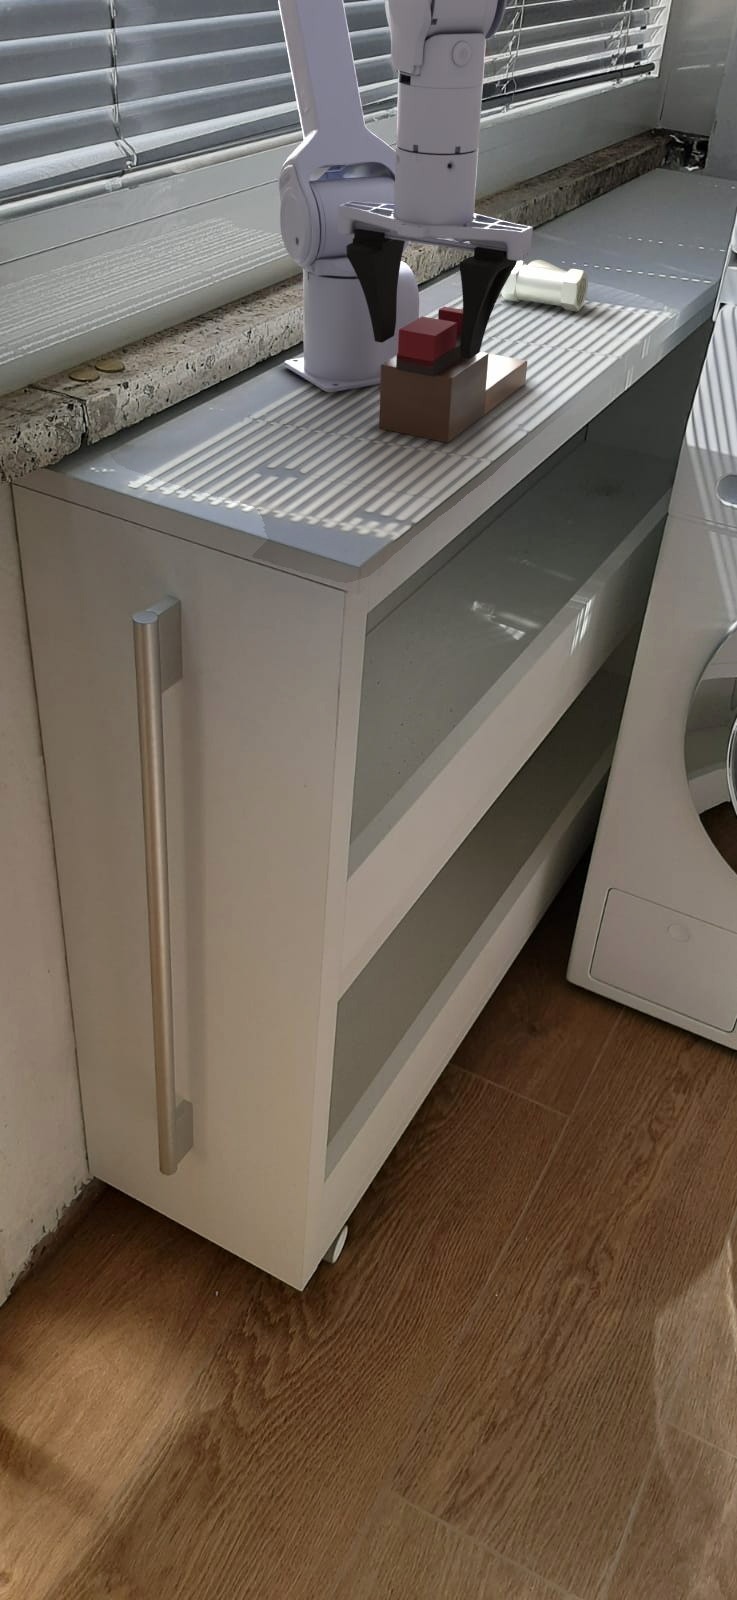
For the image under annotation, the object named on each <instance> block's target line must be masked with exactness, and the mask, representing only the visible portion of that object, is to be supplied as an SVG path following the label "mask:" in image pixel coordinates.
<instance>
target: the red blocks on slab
mask: <svg viewBox="0 0 737 1600" xmlns="http://www.w3.org/2000/svg"><path fill="white" fill-rule="evenodd" d="M437 314H438V315H437V318H433V317H427V316H419V318H418V319H417V320H415V321H413V322H411V323H410V324H408V325H406V326H404V327H403V328H401V329H399V341H398V354H397V362H396V369H397V370H401V371H406V372H411V373H417V374H422V375H427V376H432V377H434V376H436V375H437V374H439V373H441V372H442V371H444V370H445V369H447V368H448V367H450V366H451V365H453V364H454V363H456V362H457V361H459V360H460V359H462V358H461V350H460V343H461V331H462V321H463V309H462V308H461V309H460V308H455V307H449V306H442V307H440V308H438V313H437Z"/></svg>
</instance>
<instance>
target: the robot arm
mask: <svg viewBox="0 0 737 1600" xmlns="http://www.w3.org/2000/svg"><path fill="white" fill-rule="evenodd" d="M277 2H278V8H279V13H280V18H281V24H282V29H283V34H284V40H285V44H286V45H285V46H286V51H287V55H288V62H289V66H290V72H291V79H292V82H293V88H294V93H295V100H296V104H297V110H298V114H299V121H300V125H301V131H302V137H303V141H302V142H301V143H300V144H299V145H298V146H297V147H296V149H295V150H293V152H292V153H291V154H290V155H289V156H288V157H287V159H286V160H285V162H284V163H283V164H282V166H281V168H280V171H279V174H278V176H277V188H278V195H279V228H280V229H279V230H280V234H281V239H282V242H283V246H284V247H285V250H286V253H287V254H288V256H289V257H290V258H291V259H292V261H293V262H294V263H295V264H296V265H297V266H300V268H302V325H303V327H302V328H303V329H302V330H303V331H302V332H303V335H302V336H303V337H302V338H303V357H298V358H293V359H286V360H285V361H284V367H285V368H287V369H288V370H290V371H292V372H293V373H294V374H296V375H298V376H299V377H301V378H303V379H304V380H306V381H308V382H309V383H311V384H313V385H314V386H316V387H317V388H320V389H321V390H323V391H324V392H326V393H336V392H341V391H347V390H353V389H359V388H364V387H369V386H370V387H371V386H374V385H380V381H381V364H383V363H384V362H386V361H388V360H389V359H391V358H393V357H394V356H396V355H397V354H398V341H399V329H401V328H403V327H404V326H406V325H408V324H410V323H411V322H413V321H415V320H417V319H418V318H420V292H419V287H418V282H417V279H416V276H415V274H414V272H413V270H412V269H411V268H410V266H409V265H408V264H407V263H406V262H404V261H402V258H403V255H404V254H405V252H406V251H407V249H408V248H409V246H410V243H415V244H421V245H422V244H423V245H428V246H435V247H440V248H441V247H442V248H447V249H448V248H449V249H453V250H462V251H468V252H473V255H472V256H469V257H467V258H465V259H463V260H461V261H460V262H459V273H460V281H461V291H462V292H461V293H462V310H463V321H462V331H461V343H460V350H461V358H467V359H470V358H472V357H473V356H475V355H476V354H478V353H479V352H481V349H482V344H483V340H484V336H485V333H486V329H487V326H488V324H489V321H490V318H491V315H492V312H493V310H494V308H495V306H496V303H497V301H498V299H499V296H500V295H501V290H502V288H503V287H504V285H505V283H506V281H507V279H508V277H509V276H510V274H511V272H512V271H513V269H514V267H515V266H516V263H517V261H524V260H525V259H527V258H528V257H530V256H531V251H532V242H533V231H534V227H533V226H531V225H525V224H519V223H515V222H510V221H505V220H502V219H499V218H494V217H491V216H486V215H483V214H479V213H475V202H476V187H477V176H478V175H477V174H478V160H479V159H478V158H479V146H480V145H479V144H480V133H481V132H480V130H481V117H482V101H483V88H484V76H485V75H484V74H485V60H486V47H487V41H488V40H490V39H492V38H493V37H494V36H495V34H496V33H497V32H498V30H499V29H500V26H501V24H502V23H503V19H504V16H505V12H506V8H507V2H508V0H384V9H385V15H386V21H387V25H388V28H389V33H390V43H391V45H390V46H391V47H390V59H391V61H392V68H393V69H394V70H396V71H398V76H397V77H398V79H397V81H398V83H397V109H396V110H397V111H396V135H395V136H396V138H395V139H396V141H395V144H396V145H395V149H394V148H393V147H391V146H390V145H389V144H388V143H387V142H385V141H384V140H382V138H380V137H378V136H377V135H376V134H374V133H373V132H372V131H370V129H369V128H368V127H367V126H366V123H365V117H364V110H363V105H362V99H361V96H360V95H361V94H360V89H359V88H360V87H359V84H358V76H357V72H356V66H355V65H356V64H355V60H354V55H353V54H354V53H353V50H352V43H351V38H350V31H349V27H348V21H347V14H346V10H345V3H344V0H277Z"/></svg>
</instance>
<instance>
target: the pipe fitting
mask: <svg viewBox="0 0 737 1600" xmlns="http://www.w3.org/2000/svg"><path fill="white" fill-rule="evenodd" d="M588 288H589V278H588V274H587V273H586V271H585V270H583V269H577V268H570V269H569V270H564V269H562V268H561V267H558V266H556V265H554V264H552V263H550V262H548V261H545V260H543V259H535V260H532V261H530V262H529V263H528V264H527V263H526V262H525V261H524V260H521V261H517V263H516V266H515V267H514V269H513V271H512V272H511V274H510V276H509V277H508V279H507V281H506V283H505V285H504V287H503V288H502V290H501V292H500V294H501V296H502V297H503V298H504V299H505V300H506V301H510V302H517V303H519V302H520V301H521V300H522V301H527V302H534V303H539V304H540V303H541V304H546V305H552V306H558V307H562V308H563V310H565V311H570V312H577V313H578V312H579V311H580V310H581V309H582V307H583V305H584V304H585V300H586V297H587V294H588Z"/></svg>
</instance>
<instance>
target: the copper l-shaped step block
mask: <svg viewBox="0 0 737 1600" xmlns="http://www.w3.org/2000/svg"><path fill="white" fill-rule="evenodd" d="M396 362H397V355H396V356H394V357H393V358H391V359H389V360H388V361H386V362H384V363H383V364H381V381H380V384H379V386H380V387H379V390H380V391H379V413H378V417H379V418H378V428H379V429H381V430H387V431H391V432H395V433H401V434H405V435H410V436H414V437H419V438H424V439H428V440H432V441H439V442H442V443H446V444H447V443H450V442H451V441H452V440H454V439H455V438H456V437H457V436H459V435H460V434H461V433H463V432H464V431H465V430H466V429H468V428H469V427H471V426H472V425H473V424H475V423H476V422H477V421H478V420H480V419H481V418H482V417H484V415H487V413H489V412H491V410H492V409H494V408H495V407H497V406H498V405H499V404H501V403H502V402H503V401H504V400H506V399H507V398H508V397H510V396H511V395H512V394H513V393H515V392H516V391H517V390H519V389H520V388H522V387H523V386H524V385H525V384H526V380H527V370H528V360H525V359H520V358H515V357H511V356H503V355H498V354H492V353H489V352H485V351H480V352H479V353H478V354H476V355H475V356H473V357H472V358H470V359H467V358H462V359H460V360H459V361H457V362H456V363H454V364H453V365H451V366H450V367H448V368H447V369H445V370H444V371H442V372H441V373H439V374H437V375H436V376H434V377H432V376H427V375H422V374H417V373H411V372H406V371H401V370H397V369H396Z"/></svg>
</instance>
